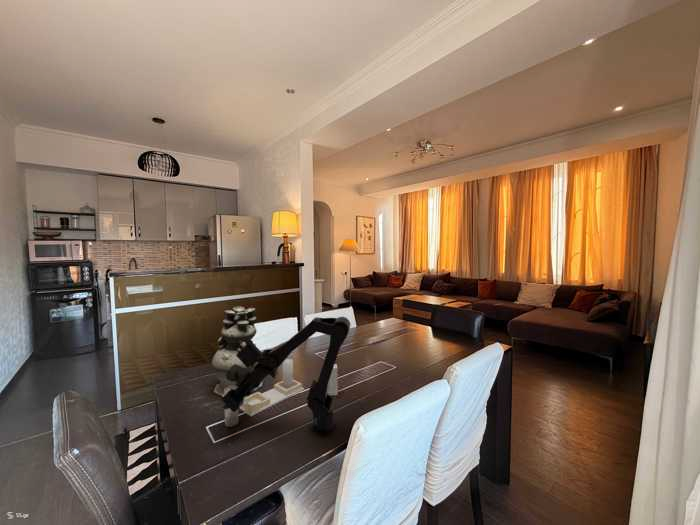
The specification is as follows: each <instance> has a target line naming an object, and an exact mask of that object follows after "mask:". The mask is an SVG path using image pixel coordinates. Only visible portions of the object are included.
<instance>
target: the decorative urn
mask: <svg viewBox="0 0 700 525" xmlns="http://www.w3.org/2000/svg"><path fill="white" fill-rule="evenodd" d="M254 312H256V308H254V307H249V308H248V309H245V307H243V306H234V307H232V310H231V309H230V310H224V314H225V315H227V316H226V318H225V319H224V320H223V321H222V322H223V324H224V326H223V328H222V329H221V332H220V333H221V336H220V337H219V338H218V339H217V344H219V346H218V350H217V351H216V352H215V354H214V356H213V358H212V359H211V360H212V361H211V368H212V371H213V373H214V375H215V376H216V377H217V379H218V380H219V382H220V383H217V384H216V385H215V387H214V390H213V392H214V393H216V394H217V395H219V396H221V398H223V397H224V389H225V388H226V387H228V386H232V385H235V384H236V383H237V382H234V381H233V382H231V381H229V380H227V379H226V373H227V372H228V371H229V368H231V367H232V366H233V365H234V364H237V365H239V366H241V367H243V368H245V369H246V370H247V371H249V370H250V369H253V368H254V367H255V366H256V365H257V364H258V362H256V363H255V364H254V365H253V366H252V367H251V366H250V367H246V366H245V365H244V364H243V363H242V362H241V361H240V359H239V358H238V357H237V356H236V355H237V353H238V352H239V351H241V350H242V349H243V348H244V347H246V346H247V345H248V344H249V343H250V342H253V338H254V337H255V336H256V334H257V332H258V330H257V328H256V326H255V322H256V320H257V316H254ZM253 343H254V342H253ZM254 345H255V346H256V347H257V345H256V343H254ZM263 383H264V381H263V382H262V383H261V384H260V385H259V386H258V387H257V388H256V389H255V390H254V391H256V390H258V388H260V387H262V386H263ZM235 386H236V385H235Z"/></svg>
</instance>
